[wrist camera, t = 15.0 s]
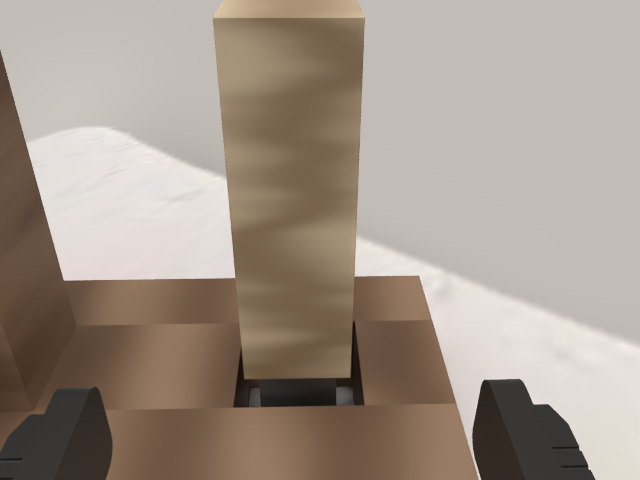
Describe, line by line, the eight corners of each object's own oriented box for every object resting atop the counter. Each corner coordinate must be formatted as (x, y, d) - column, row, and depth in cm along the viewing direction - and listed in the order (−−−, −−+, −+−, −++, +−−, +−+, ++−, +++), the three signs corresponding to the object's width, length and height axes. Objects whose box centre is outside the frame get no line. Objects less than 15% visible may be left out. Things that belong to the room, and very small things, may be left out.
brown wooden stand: (-132, 567, 21) (-638, -154, 10) (9, 343, 32) (-164, -140, 20) (464, 552, 22) (620, -152, 11) (412, 336, 32) (463, -139, 21)
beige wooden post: (251, 465, 25) (212, 18, 16) (257, 395, 28) (229, -8, 19) (346, 464, 25) (364, 17, 16) (341, 393, 29) (353, -8, 19)
